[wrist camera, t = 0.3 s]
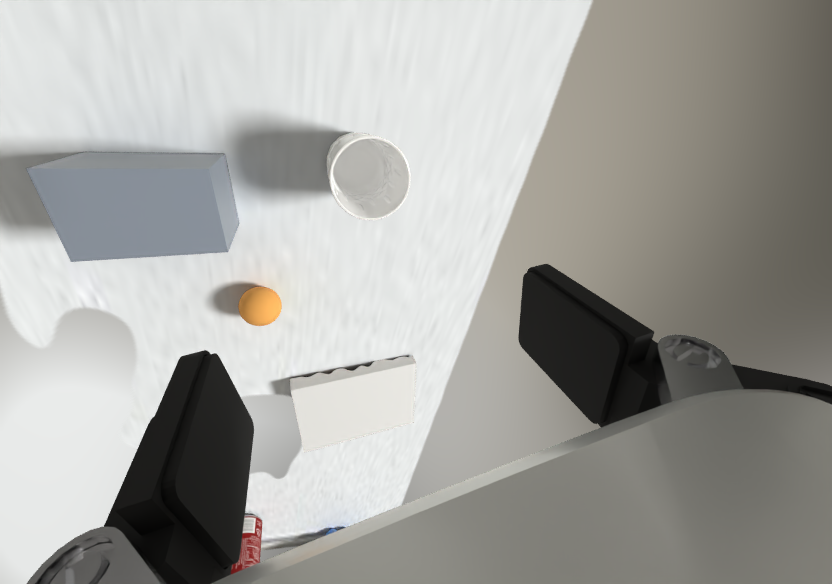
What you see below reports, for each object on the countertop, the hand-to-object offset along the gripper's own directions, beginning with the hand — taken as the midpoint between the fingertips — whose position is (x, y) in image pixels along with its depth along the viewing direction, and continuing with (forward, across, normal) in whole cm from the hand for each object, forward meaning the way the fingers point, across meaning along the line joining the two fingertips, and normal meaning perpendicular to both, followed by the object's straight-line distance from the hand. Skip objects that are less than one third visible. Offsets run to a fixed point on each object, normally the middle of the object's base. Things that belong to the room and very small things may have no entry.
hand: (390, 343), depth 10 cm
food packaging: (+37, +2, +39) cm, 54 cm away
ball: (+33, +11, +15) cm, 38 cm away
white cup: (+36, -4, +1) cm, 36 cm away
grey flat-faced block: (+35, +16, 0) cm, 39 cm away
